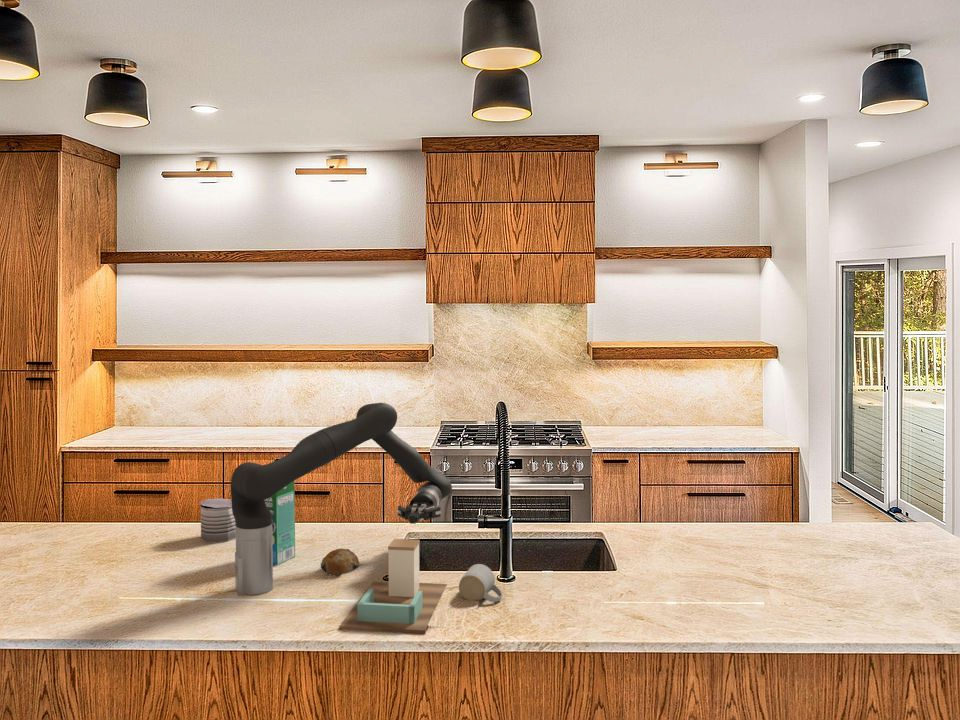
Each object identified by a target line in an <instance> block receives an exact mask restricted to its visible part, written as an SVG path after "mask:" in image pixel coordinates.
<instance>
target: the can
mask: <svg viewBox="0 0 960 720" xmlns="http://www.w3.org/2000/svg"><path fill="white" fill-rule="evenodd" d="M199 504H201V505H200V540H201V541H202V542H204V543H206V544H209V543H210V544H220V543H221V544H222V543H227V542H231V541H234V540H236V527H235V526H236V525H235V518H234V516H233V513H232V502H231V499H226V498H207V499H205V500H201V501H199Z"/></svg>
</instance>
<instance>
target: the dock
mask: <svg viewBox="0 0 960 720" xmlns="http://www.w3.org/2000/svg"><path fill="white" fill-rule="evenodd" d="M367 589H368V588H367ZM364 593H365V592H364ZM361 597H362V596H361ZM358 601H359V600H358ZM422 607H423V591H417V593H416V595H415V597H414V598H413V600H412V602H411V604H410V605H406V604H385V603H374V589H368V591H367V592H366V593H365V595H364V596H363V597H362V599H361V600H360V601H359V603H358V604H357V611H358V621H369V622H388V623H407V624H414V623H415V621H416V619H417V617H418V615H419V613H420V611H421V609H422Z"/></svg>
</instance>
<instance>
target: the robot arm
mask: <svg viewBox="0 0 960 720" xmlns="http://www.w3.org/2000/svg"><path fill="white" fill-rule="evenodd" d="M397 421H398V412H397V410H396V408H394V406H393V405H391V404H389V403H386V402H375V403H374V402H373V403H368V404H364V405H362V406H361V407H360V408H359V409H358V410H357V413H356V417H355V418H353V419H351V420H348V421H345V422H340V423H337V424H333V425H331V426H328V427H325V428H322V429H319V430H318V431H315V432H313V433H311V434H309V435H307V436H306V437H304V438H302V440H299V442H298V443H297V444H296V445H295V446H294V448H293V449H291V451H289V453H288V454H286V455H285V456H283V457H281V458H279V459H276V460H274V461H272V462H270V463H266V464H259V463H255V462H252V461H246V462H243V463H240V464H238V466H237V467H236V468H235V469H234V470H233V471H232V475H231V480H230V500H231V502H232V513H233V516H234V518H235V525H236V526H235V527H236V539H235V552H234V565H235V567H234V568H235V571H234V573H235V575H234V576H235V580H234V581H235V590H236V594H237V595H239V596H240V595H246V596H247V595H249V596H250V595H252V596H253V595H254V596H255V595H261V594H265V593H268V592H269V591H271V590H273V588H274V573H273V572H274V569H273V567H274V565H273V550H272V514H271V512H270V511H269V509H268V508H267V506H266V504H265V501H264V500H265V499H267V498H269V497H271V496H272V495H274V494H275V493H277V492H278V491H280V490H281V489H283V488H284V487H286V486H287V485H288V484H290V483H291V482H293V481H294V482H295V481H297V480H298V479H300V478H302V477H304V476H305V475H308V474H309V473H312V472H313V471H316V470H318V469H319V468H322V467H323V466H325V465H328V464H329V463H331V462H332V461H334V460H336V459H338V458H339V457H341V456H343V455H345V454H346V453H348V452H350V451H352V450H353V449H355V448H357V447H358V446H359V445H361V444H364V443H365V442H367V441H369V440H372V441H373V442H374V443H376V444H377V445H378V447H381V448H382V450H384V451H385V453H387V454H388V456H390V457H391V458H392V459H393V460H394V461H395V462H396V463H397V464H398V466H399V467H400V468H401V469H402V470H403V472H404V473H405V474H406V475H407V476H408V478H409V479H410V480H411V481H412V482H413V483H415V484H421V483H423V484H422V485H420V486H419V487H418V489H417V492H416V494H415V495H414V496H413V497H412V498H411V500H410V501H409V504H407V505H406V506H403V505H399V506H397V516H398V517H400V518H402V519H403V520H407V522H408V523H409V524H412V525H413V524H414V525H415V524H416V523H418V522H420V521H428V520H432V519H436V518H440V517H441V516H442V515H441V514H442V510H441V507H440V506H439V505H440V504H441V501H442V500H443V499H445V498H446V497H448V496H450V495H451V493H452V491H453V486H452V483H451V481H450V480H449V478H448V477H447V476H445V475H444V474H443V473H441V472H439V471H438V470H436V469H435V468H433V467H432V466H431V465H429V463H428V462H427V461H426V460H425V458H424V457H423V456H422V455H421V453H419V452H418V450H417V449H415V448H414V447H413V446H411V445H410V444H409V443H408V442H406V441H405V440H403V439H402V438H401V437H399V436H398V435H397V434H396V433H394V431H393V429H394V428H395V426H396V424H397Z"/></svg>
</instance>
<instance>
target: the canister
mask: <svg viewBox="0 0 960 720" xmlns="http://www.w3.org/2000/svg"><path fill="white" fill-rule="evenodd" d="M420 542H421V541H420V539H413V538H412V539H411V538H410V539H409V538H408V539H407V538H393V540H392V541H391V542H390V543H389V544H388V546H387V550H388V555H387V556H388V581H389V596H400V597H415V595H416V593H417V591H418V589H419V583H420Z"/></svg>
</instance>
